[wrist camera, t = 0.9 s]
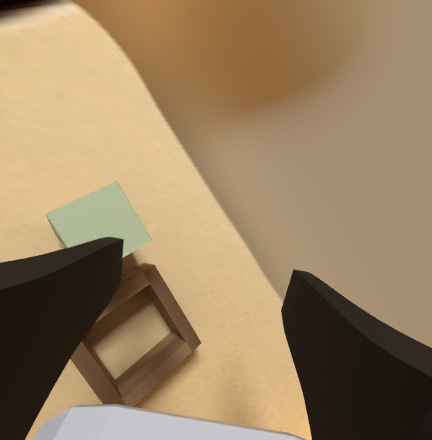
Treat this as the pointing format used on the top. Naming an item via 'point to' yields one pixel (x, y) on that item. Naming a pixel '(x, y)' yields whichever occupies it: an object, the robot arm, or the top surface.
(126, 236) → the pale green block
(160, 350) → the socket block
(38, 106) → the top surface
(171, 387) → the top surface
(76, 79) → the top surface
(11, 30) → the top surface
